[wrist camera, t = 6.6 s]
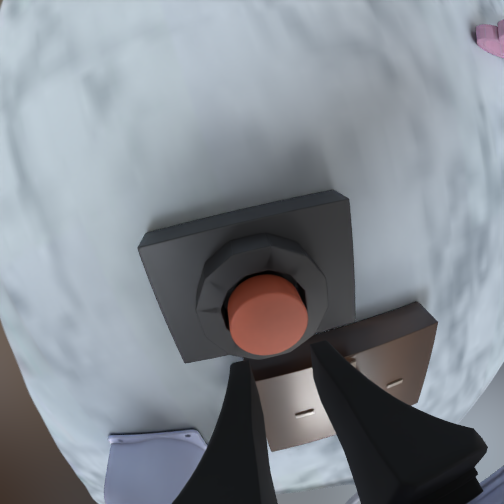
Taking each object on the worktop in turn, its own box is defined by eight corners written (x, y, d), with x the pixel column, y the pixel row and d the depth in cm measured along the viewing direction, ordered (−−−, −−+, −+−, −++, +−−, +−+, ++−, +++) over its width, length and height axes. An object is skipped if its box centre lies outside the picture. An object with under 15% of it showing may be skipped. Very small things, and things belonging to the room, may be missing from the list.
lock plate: (265, 426, 25) (271, 453, 22) (242, 352, 21) (247, 384, 18) (404, 382, 26) (418, 404, 23) (417, 300, 21) (439, 323, 19)
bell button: (236, 340, 16) (239, 363, 14) (219, 283, 14) (220, 303, 13) (302, 324, 16) (311, 345, 14) (294, 265, 15) (304, 283, 13)
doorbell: (185, 342, 20) (183, 384, 16) (144, 233, 17) (128, 263, 13) (343, 303, 20) (367, 339, 17) (333, 189, 17) (365, 208, 13)
